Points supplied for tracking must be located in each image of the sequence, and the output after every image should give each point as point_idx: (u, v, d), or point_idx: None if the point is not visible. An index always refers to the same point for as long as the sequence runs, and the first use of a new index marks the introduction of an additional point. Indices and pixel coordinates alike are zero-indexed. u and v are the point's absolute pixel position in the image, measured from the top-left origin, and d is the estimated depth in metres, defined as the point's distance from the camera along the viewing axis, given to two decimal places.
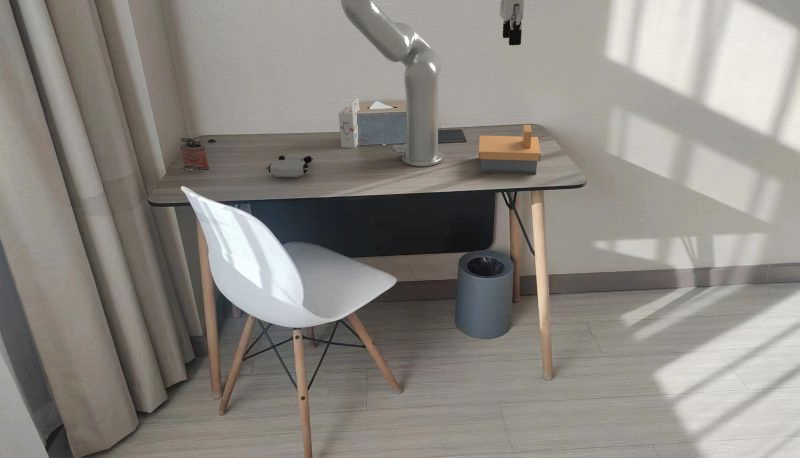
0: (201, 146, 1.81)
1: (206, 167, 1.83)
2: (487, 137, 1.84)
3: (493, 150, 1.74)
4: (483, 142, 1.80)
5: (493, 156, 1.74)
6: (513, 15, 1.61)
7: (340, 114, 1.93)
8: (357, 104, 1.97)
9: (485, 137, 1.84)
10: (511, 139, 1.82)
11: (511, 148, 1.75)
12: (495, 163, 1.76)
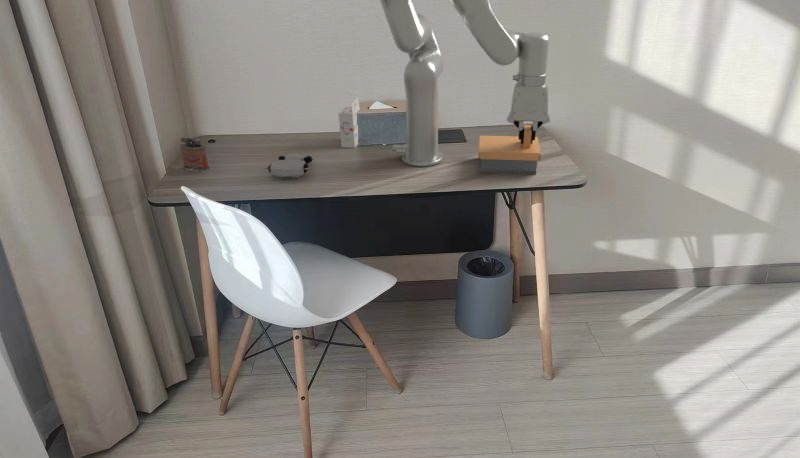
0: (201, 146, 1.81)
1: (206, 167, 1.83)
2: (487, 137, 1.84)
3: (493, 150, 1.74)
4: (483, 142, 1.80)
5: (493, 156, 1.74)
6: None
7: (340, 114, 1.93)
8: (357, 104, 1.97)
9: (485, 137, 1.84)
10: (511, 139, 1.82)
11: (511, 148, 1.75)
12: (495, 163, 1.76)
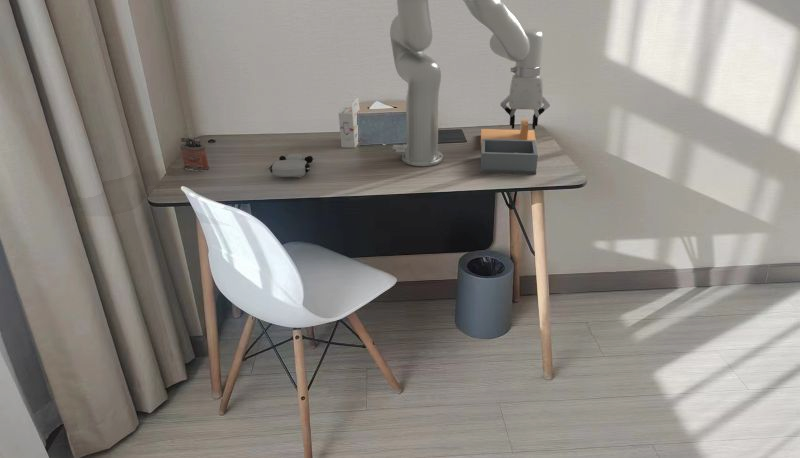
0: (201, 146, 1.81)
1: (206, 167, 1.83)
2: (488, 130, 2.02)
3: None
4: (484, 135, 1.99)
5: None
6: None
7: (340, 114, 1.93)
8: (357, 104, 1.97)
9: (486, 130, 2.02)
10: (510, 132, 2.00)
11: None
12: (495, 163, 1.76)
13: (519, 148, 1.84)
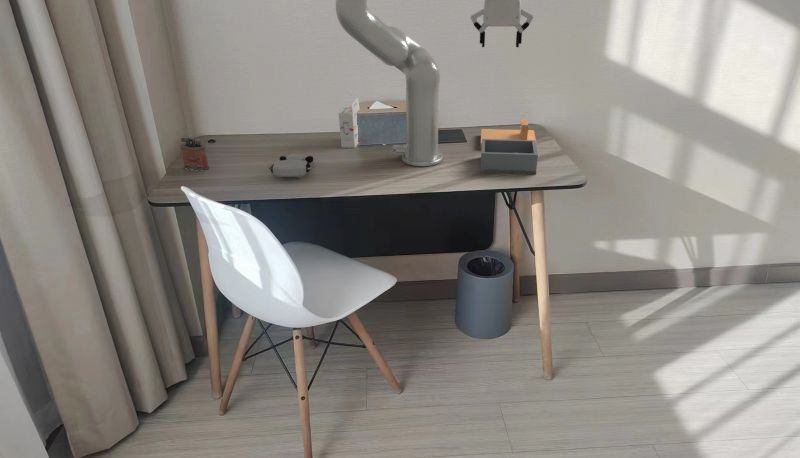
0: (201, 146, 1.81)
1: (206, 167, 1.83)
2: (488, 130, 2.02)
3: None
4: (484, 135, 1.99)
5: None
6: None
7: (340, 114, 1.93)
8: (357, 104, 1.97)
9: (486, 130, 2.02)
10: (510, 132, 2.00)
11: None
12: (495, 163, 1.76)
13: (519, 148, 1.84)
